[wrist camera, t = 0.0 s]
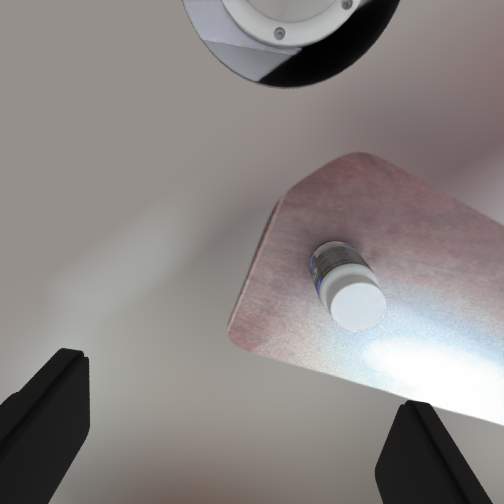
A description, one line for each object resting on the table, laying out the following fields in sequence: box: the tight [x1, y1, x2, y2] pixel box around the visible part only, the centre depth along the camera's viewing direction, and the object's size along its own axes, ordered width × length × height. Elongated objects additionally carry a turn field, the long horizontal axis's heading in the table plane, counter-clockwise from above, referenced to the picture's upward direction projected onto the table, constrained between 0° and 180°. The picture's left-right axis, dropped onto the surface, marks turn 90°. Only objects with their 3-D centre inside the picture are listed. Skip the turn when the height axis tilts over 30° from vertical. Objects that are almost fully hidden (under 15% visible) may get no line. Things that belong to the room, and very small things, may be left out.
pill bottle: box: [310, 241, 387, 332], centre depth 27 cm, size 5×5×8 cm
